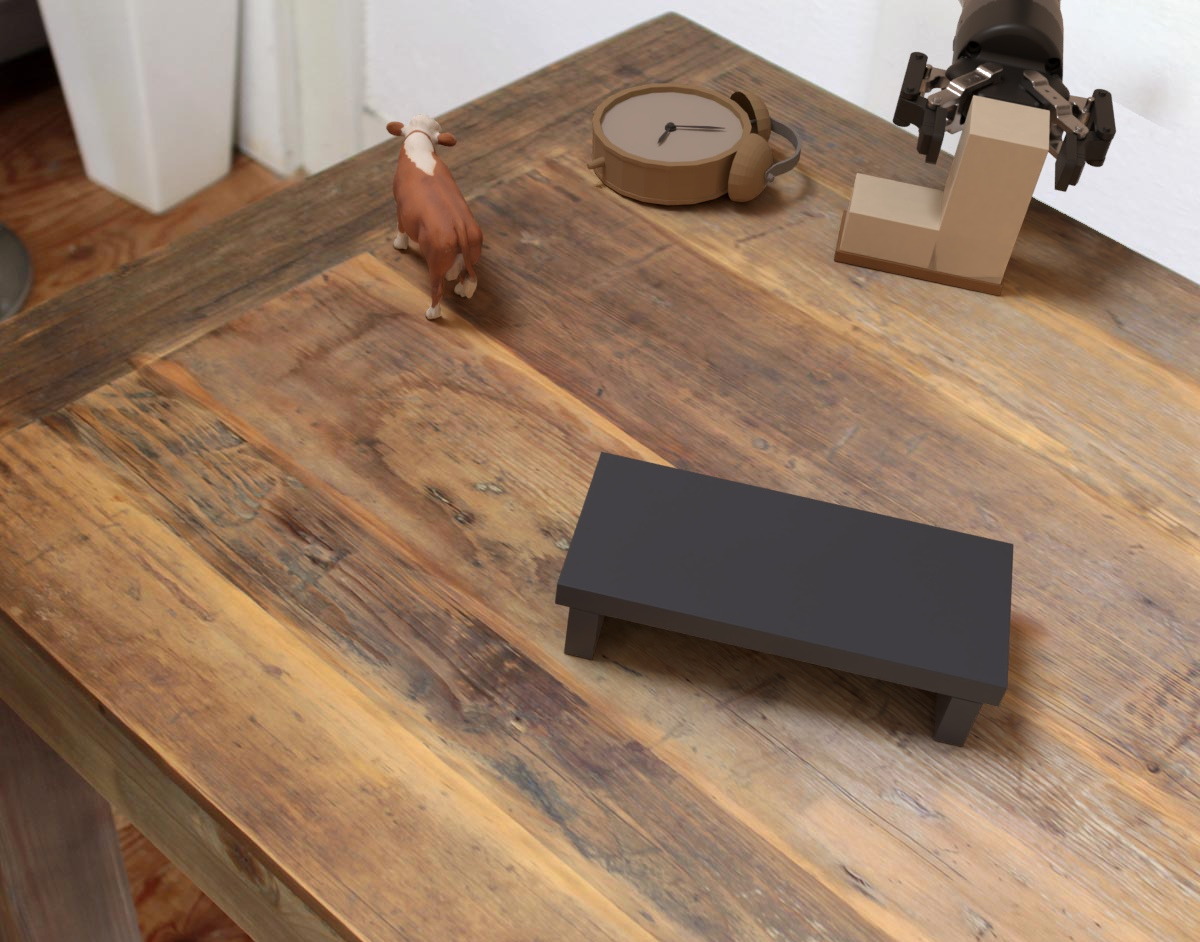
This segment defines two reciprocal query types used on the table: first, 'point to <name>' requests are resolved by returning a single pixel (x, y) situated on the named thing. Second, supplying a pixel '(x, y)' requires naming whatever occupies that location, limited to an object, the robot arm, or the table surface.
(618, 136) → the alarm clock
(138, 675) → the table surface
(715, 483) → the dark grey low platform
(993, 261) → the boot
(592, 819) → the table surface
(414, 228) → the bull figurine
